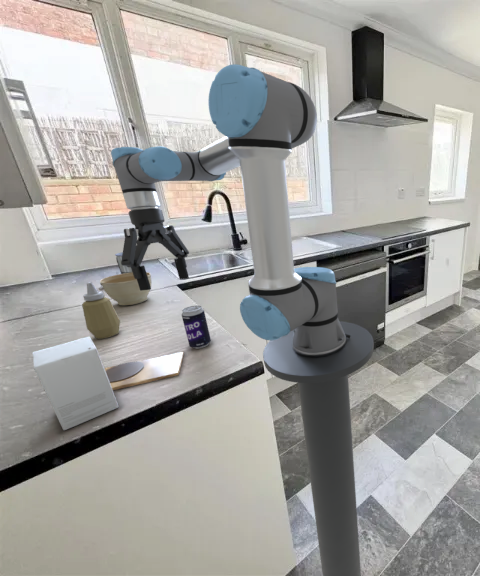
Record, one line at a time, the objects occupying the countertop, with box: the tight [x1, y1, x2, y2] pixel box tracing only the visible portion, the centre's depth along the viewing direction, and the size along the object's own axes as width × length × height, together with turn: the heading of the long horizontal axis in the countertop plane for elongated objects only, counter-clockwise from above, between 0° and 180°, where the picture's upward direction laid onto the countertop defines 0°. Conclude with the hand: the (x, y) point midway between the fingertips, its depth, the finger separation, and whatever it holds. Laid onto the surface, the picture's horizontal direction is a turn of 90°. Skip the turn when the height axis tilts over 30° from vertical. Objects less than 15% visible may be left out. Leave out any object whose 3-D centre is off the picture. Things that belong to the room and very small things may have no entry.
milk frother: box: [99, 251, 143, 287], centre depth 149 cm, size 14×16×15 cm
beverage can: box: [181, 305, 212, 350], centre depth 91 cm, size 6×6×12 cm
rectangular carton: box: [32, 335, 119, 431], centre depth 65 cm, size 9×9×15 cm
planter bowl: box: [99, 271, 152, 306], centre depth 127 cm, size 16×16×11 cm
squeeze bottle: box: [81, 281, 121, 340], centre depth 97 cm, size 8×8×18 cm
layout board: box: [104, 351, 185, 391], centre depth 79 cm, size 20×12×1 cm, turn 116°
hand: (166, 284), depth 90 cm, fingers open, 13 cm apart
